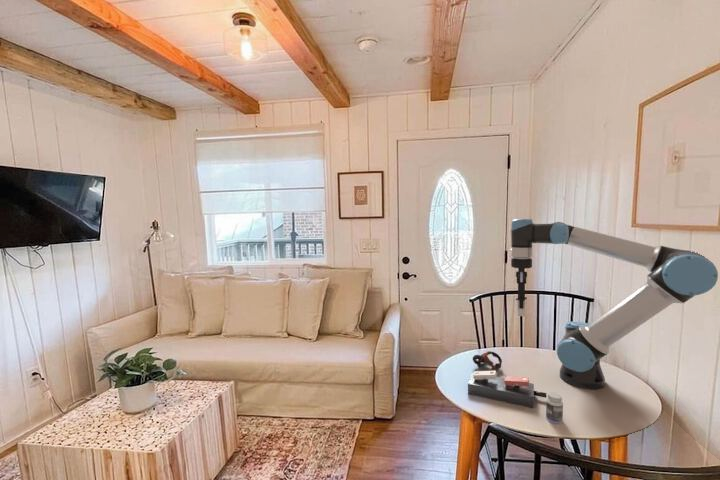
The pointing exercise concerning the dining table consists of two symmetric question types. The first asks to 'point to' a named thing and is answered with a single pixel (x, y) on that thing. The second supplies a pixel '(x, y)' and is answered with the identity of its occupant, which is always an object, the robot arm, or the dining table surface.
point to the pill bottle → (554, 407)
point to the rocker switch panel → (503, 391)
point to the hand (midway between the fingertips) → (521, 315)
